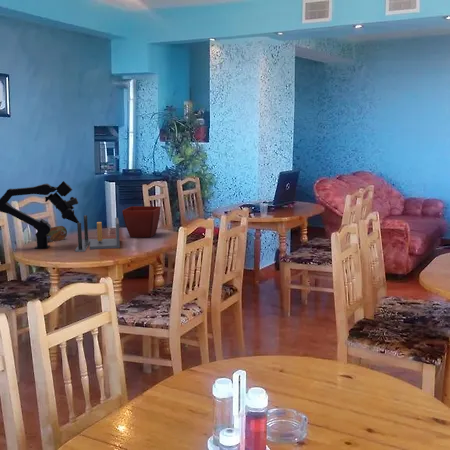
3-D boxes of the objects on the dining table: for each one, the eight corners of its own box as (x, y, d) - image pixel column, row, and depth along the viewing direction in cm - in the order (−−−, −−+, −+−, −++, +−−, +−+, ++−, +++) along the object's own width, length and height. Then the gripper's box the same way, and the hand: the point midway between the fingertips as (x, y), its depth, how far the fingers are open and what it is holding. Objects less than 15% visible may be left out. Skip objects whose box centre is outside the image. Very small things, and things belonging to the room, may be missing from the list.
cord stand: (75, 252, 322) (73, 223, 320) (82, 241, 354) (81, 215, 351) (84, 251, 323) (83, 223, 320) (91, 240, 354) (90, 214, 352)
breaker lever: (97, 243, 337) (96, 223, 335) (97, 241, 342) (97, 222, 340) (102, 243, 337) (101, 223, 336) (102, 241, 342) (101, 221, 340)
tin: (46, 243, 348) (45, 228, 346) (43, 242, 350) (42, 228, 348) (67, 239, 359) (66, 225, 358) (64, 238, 361) (63, 224, 360)
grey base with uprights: (89, 249, 328) (88, 224, 326) (90, 241, 349) (89, 218, 347) (119, 248, 331) (118, 223, 329) (118, 240, 352) (117, 217, 350)
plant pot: (122, 238, 360) (121, 210, 357) (131, 232, 379) (131, 206, 376) (154, 238, 357) (153, 210, 355) (161, 233, 376) (161, 206, 373)
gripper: (68, 194, 323) (89, 215, 327) (70, 190, 341) (90, 211, 345) (53, 208, 323) (73, 229, 326) (55, 204, 341) (75, 224, 344)
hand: (78, 223), depth 336 cm, fingers closed
